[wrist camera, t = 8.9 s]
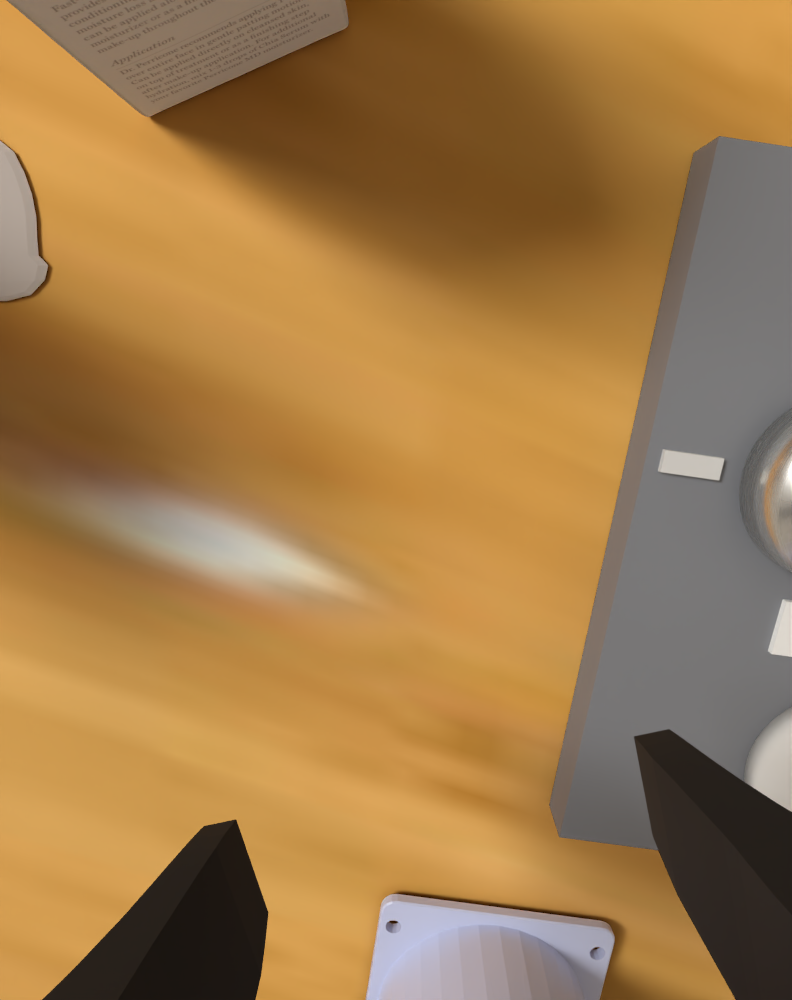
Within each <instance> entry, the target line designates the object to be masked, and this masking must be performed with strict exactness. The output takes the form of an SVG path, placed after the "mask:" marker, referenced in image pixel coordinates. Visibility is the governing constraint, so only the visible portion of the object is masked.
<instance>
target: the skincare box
mask: <svg viewBox="0 0 792 1000" xmlns="http://www.w3.org/2000/svg"><path fill="white" fill-rule="evenodd" d="M7 1H8V2H9V3H10V4H12V5H13V6H14V7H15V8H16V9H18V10H19V11H20V12H21V13H22V14H24V15H25V16H26V17H27V18H28V19H29V20H31V21H32V22H33V23H34V24H35V25H36V26H38V27H39V28H40V29H41V30H42V31H43V32H45V33H46V34H47V35H48V36H49V37H50V38H51V39H52V40H54V41H55V42H56V43H57V44H58V45H60V46H61V47H62V48H63V49H65V50H66V51H67V52H68V53H69V54H70V55H72V56H73V57H74V58H75V59H76V60H77V61H78V62H80V63H81V64H82V65H83V66H84V67H86V68H87V69H88V70H89V71H90V72H92V73H93V74H94V75H95V76H96V77H97V78H99V79H100V80H101V81H102V82H103V83H105V84H106V85H107V86H108V87H109V88H111V89H112V90H113V91H114V92H115V93H116V94H117V95H119V96H120V97H121V98H122V99H124V100H125V101H126V102H127V103H128V104H129V105H131V106H132V107H133V108H134V109H135V110H137V111H138V112H139V113H141V114H142V115H144V116H147V117H150V116H152V115H154V114H157V113H159V112H161V111H163V110H165V109H167V108H169V107H172V106H174V105H176V104H178V103H181V102H183V101H185V100H187V99H190V98H192V97H194V96H196V95H198V94H201V93H203V92H205V91H207V90H209V89H212V88H214V87H216V86H218V85H221V84H223V83H225V82H227V81H229V80H232V79H234V78H236V77H239V76H241V75H243V74H245V73H247V72H249V71H252V70H254V69H256V68H258V67H260V66H263V65H265V64H267V63H269V62H271V61H274V60H276V59H278V58H280V57H282V56H285V55H287V54H289V53H291V52H294V51H296V50H298V49H300V48H303V47H305V46H307V45H309V44H311V43H313V42H315V41H318V40H320V39H323V38H325V37H327V36H330V35H332V34H334V33H336V32H339V31H341V30H343V29H345V28H346V27H348V24H349V20H348V13H347V7H346V2H345V0H7Z"/></svg>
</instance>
